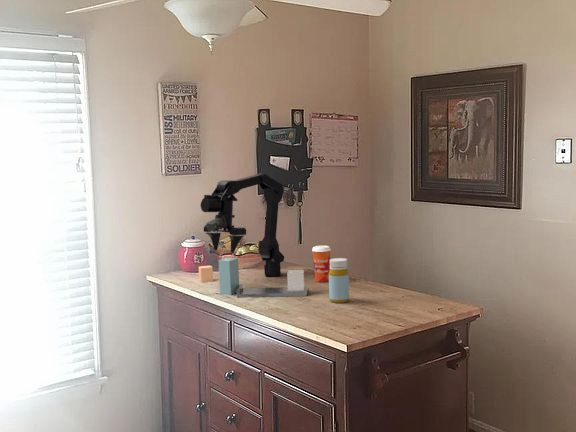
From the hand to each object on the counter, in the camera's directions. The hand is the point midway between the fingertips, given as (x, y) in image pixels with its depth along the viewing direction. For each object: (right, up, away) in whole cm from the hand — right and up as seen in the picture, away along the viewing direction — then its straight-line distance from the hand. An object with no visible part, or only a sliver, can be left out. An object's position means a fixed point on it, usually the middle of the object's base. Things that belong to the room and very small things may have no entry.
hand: (223, 251), depth 275 cm
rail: (+20, -15, -14) cm, 28 cm away
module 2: (+3, -15, -9) cm, 18 cm away
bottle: (+44, -16, -28) cm, 55 cm away
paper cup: (+39, -12, +5) cm, 42 cm away
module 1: (-9, -13, +13) cm, 20 cm away
